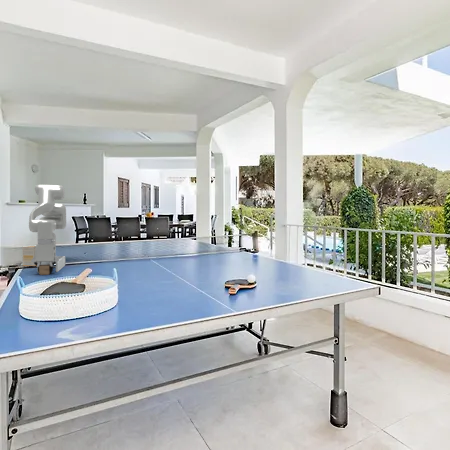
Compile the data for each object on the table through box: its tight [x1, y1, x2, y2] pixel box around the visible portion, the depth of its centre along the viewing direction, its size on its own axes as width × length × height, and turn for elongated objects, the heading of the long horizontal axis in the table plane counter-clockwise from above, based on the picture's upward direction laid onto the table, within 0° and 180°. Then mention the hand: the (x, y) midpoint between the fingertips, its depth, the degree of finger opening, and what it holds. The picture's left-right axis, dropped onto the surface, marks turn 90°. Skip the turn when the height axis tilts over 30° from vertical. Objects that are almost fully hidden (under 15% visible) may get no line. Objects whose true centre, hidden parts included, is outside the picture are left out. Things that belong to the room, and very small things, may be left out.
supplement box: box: [21, 245, 37, 267], centre depth 222 cm, size 8×5×13 cm, turn 84°
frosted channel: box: [36, 255, 66, 274], centre depth 216 cm, size 24×11×6 cm, turn 15°
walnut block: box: [38, 264, 51, 276], centre depth 199 cm, size 5×5×5 cm
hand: (45, 272), depth 200 cm, fingers closed on walnut block, 5 cm apart
